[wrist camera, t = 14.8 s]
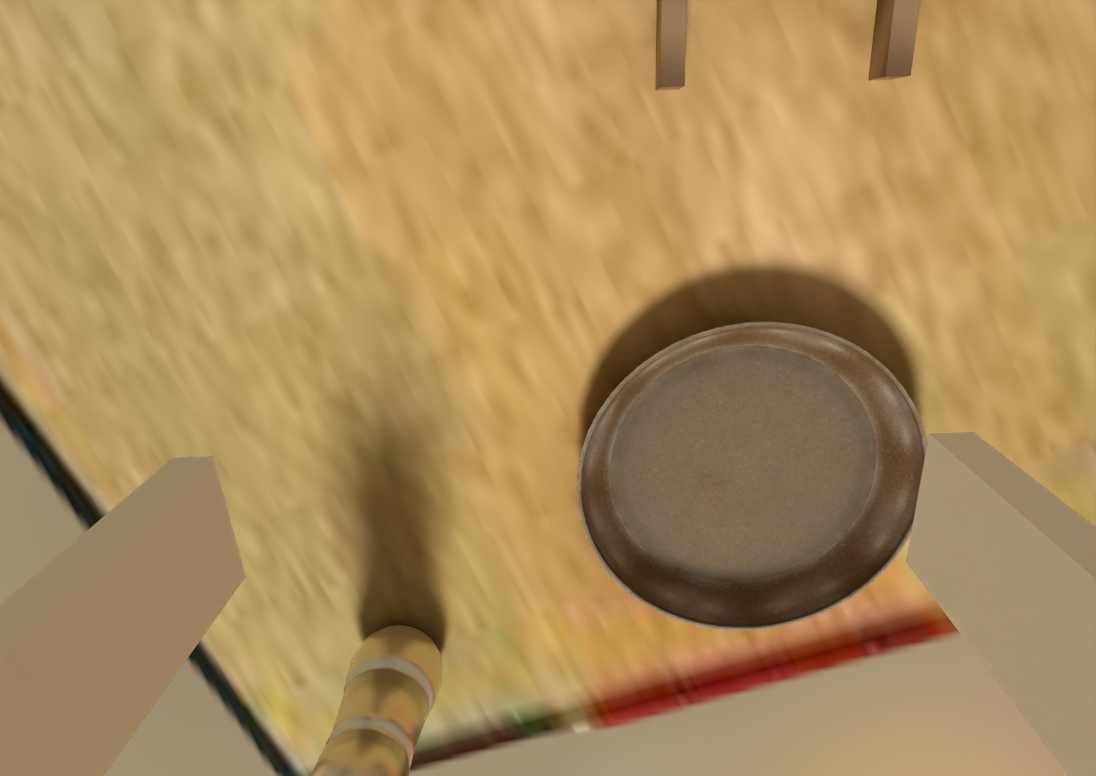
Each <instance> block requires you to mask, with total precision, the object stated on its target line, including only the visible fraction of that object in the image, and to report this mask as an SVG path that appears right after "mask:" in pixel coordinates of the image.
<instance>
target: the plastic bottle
mask: <svg viewBox="0 0 1096 776" xmlns="http://www.w3.org/2000/svg"><path fill="white" fill-rule="evenodd" d="M441 681H442V658H441V655H440V652H439V650H438V649H437V647H436V646H435V644H434V642H433V641H432V640H431V639H430V637H429V636H428V635H426V634H425V633H424V632H422V631H420V630H418V629H416V628H413V627H410V626H404V625H395V626H390V627H386V628H383V629H381V630H379V631H376V632H374V633H373V634H371V635H370V636H368V637H367V639H366V640H365V641H364V642H363V643H362V645H361V646H360V647H359V649H358V650H357V652H356V653H355V655H354V657H353V658H352V660H351V663H350V666H349V670H348V674H347V678H346V682H345V687H344V696H343V699H342V702H341V705H340V708H339V711H338V715H337V718H336V721H335V724H334V727H333V730H332V733H331V735H330V737H329V739H328V741H327V743H326V746H325V748H324V749H323V751H322V753H321V755H320V758H319V760H318V762H317V764H316V766H315V768H314V770H313V772H312V774H311V776H409V769H410V766H411V762H412V757H413V752H414V750H415V747H416V744H417V741H418V739H419V736H420V733H421V730H422V728H423V725H424V722H425V719H426V718H427V716H428V714H429V713H430V711H431V709H432V707H433V705H434V702H435V700H436V698H437V695H438V693H439V690H440V687H441Z"/></svg>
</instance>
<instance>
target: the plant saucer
mask: <svg viewBox="0 0 1096 776" xmlns="http://www.w3.org/2000/svg"><path fill="white" fill-rule="evenodd" d="M926 449H927V441H926V436H925V431H924V428H923V425H922V421H921V419H920V417H919V414H918V412H917V409H916V407H915V405H914V403H913V402H912V400H911V398H910V397H909V395H908V393H907V392H906V390H905V389H904V387H903V386H902V385H901V383H900V382H899V381H898V380H897V378H896V377H895V376H894V375H893V373H892V372H891V371H890V370H888V369H887V368H886V367H885V366H884V365H883V364H882V363H881V362H880V361H879V360H878V359H876V358H875V357H874V356H872V355H871V354H870V353H868V352H867V351H865V350H864V349H862V348H861V347H859V346H857V345H856V344H854V343H852V342H850V341H848V340H846V339H844V338H842V337H839V336H837V335H834V334H832V333H829V332H826V331H823V330H820V329H816V328H812V327H808V326H803V325H799V324H792V323H783V322H747V323H737V324H731V325H726V326H721V327H716V328H713V329H710V330H706V331H703V332H700V333H697V334H694V335H692V336H689V337H687V338H684V339H682V340H680V341H678V342H675V343H673V344H671V345H669V346H668V347H666V348H664V349H662V350H661V351H659V352H657V353H656V354H654V355H653V356H652V357H650V358H649V359H647V360H646V361H644V362H643V363H642V364H641V365H639V366H638V367H637V368H636V369H635V370H633V371H632V372H631V373H630V374H629V375H628V376H627V377H626V378H625V379H624V380H623V381H622V382H621V383H620V384H619V385H618V386H617V387H616V388H615V389H614V390H613V392H612V393H611V394H610V395H609V397H608V398H607V399H606V401H605V402H604V404H603V405H602V406H601V408H600V410H599V411H598V413H597V414H596V416H595V418H594V420H593V422H592V424H591V426H590V428H589V431H588V433H587V436H586V438H585V441H584V444H583V447H582V450H581V454H580V459H579V464H578V471H577V502H578V509H579V514H580V519H581V523H582V526H583V529H584V532H585V534H586V537H587V539H588V541H589V543H590V546H591V548H592V550H593V552H594V553H595V555H596V557H597V558H598V560H599V561H600V563H601V564H602V565H603V567H604V568H605V569H606V571H607V572H608V573H609V574H610V575H611V577H612V578H613V579H614V580H615V581H616V582H617V583H618V584H619V585H620V586H621V587H623V588H624V589H625V590H626V591H627V592H628V593H630V594H631V595H632V596H633V597H635V598H636V599H637V600H639V601H641V602H642V603H644V604H645V605H647V606H649V607H651V608H652V609H654V610H656V611H658V612H660V613H662V614H664V615H667V616H669V617H672V618H674V619H677V620H680V621H682V622H686V623H689V624H693V625H697V626H702V627H707V628H714V629H725V630H756V629H765V628H773V627H778V626H783V625H788V624H792V623H795V622H798V621H802V620H805V619H808V618H811V617H813V616H816V615H818V614H820V613H823V612H825V611H828V610H830V609H832V608H833V607H835V606H837V605H839V604H841V603H843V602H845V601H846V600H848V599H850V598H851V597H852V596H854V595H855V594H857V593H858V592H860V591H861V590H862V589H864V588H865V587H866V586H867V585H869V584H870V583H871V582H872V581H873V580H874V579H875V578H876V577H878V576H879V575H880V574H881V573H882V572H883V571H884V570H885V569H886V568H887V567H888V566H889V564H890V563H891V562H892V561H893V560H894V559H895V557H896V556H897V555H898V553H899V552H900V551H901V549H902V547H903V546H904V544H905V543H906V541H907V540H908V538H909V536H910V535H911V532H912V526H913V521H914V515H915V510H916V504H917V499H918V493H919V487H920V482H921V476H922V471H923V465H924V460H925V454H926Z"/></svg>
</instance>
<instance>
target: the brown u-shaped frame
mask: <svg viewBox="0 0 1096 776" xmlns="http://www.w3.org/2000/svg"><path fill="white" fill-rule="evenodd" d="M920 1H921V0H878V2H877V11H876V20H875V28H874V37H873V46H872V55H871V64H870V72H869V80H887V79H896V78H901V77H905V76H910V75H911V68H912V61H913V53H914V46H915V38H916V31H917V23H918V16H919V8H920ZM686 14H687V0H657V35H656V90H671V89H680V88H682V87H683V86H685V50H686Z"/></svg>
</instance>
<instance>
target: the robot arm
mask: <svg viewBox="0 0 1096 776" xmlns="http://www.w3.org/2000/svg"><path fill="white" fill-rule="evenodd" d="M906 562H907V564H908V565H909V566H910V568H911V569H912V570H913V572H914V573H915V574H916V575H917V577H918V578H919V579H920V581H921V582H922V583H923V585H924V586H925V587H926V589H927V590H928V591H929V593H930V594H931V595H932V597H933V598H934V599H935V601H936V602H937V603H938V604H939V606H940V607H941V608H942V610H943V611H944V612H945V614H946V615H947V616H948V618H949V619H950V620H951V622H952V623H953V624H954V626H955V627H956V628H957V629H958V631H959V632H960V633H961V635H962V636H963V637H964V639H965V640H966V641H967V643H968V644H969V645H970V647H971V648H972V649H973V651H974V652H975V653H976V655H977V656H978V657H979V658H980V660H981V661H982V662H983V664H984V665H985V666H986V668H987V669H988V670H989V672H990V673H991V674H992V675H993V677H994V678H995V679H996V681H997V682H998V683H999V685H1000V686H1001V687H1002V689H1003V690H1004V691H1005V693H1006V694H1007V695H1008V697H1009V698H1010V699H1011V701H1012V702H1013V703H1014V705H1015V706H1016V707H1017V708H1018V710H1019V711H1020V712H1021V714H1022V715H1023V716H1024V718H1025V719H1026V720H1027V722H1028V723H1029V724H1030V726H1031V727H1032V728H1033V730H1034V731H1035V732H1036V733H1037V735H1038V736H1039V737H1040V739H1041V740H1042V741H1043V743H1044V744H1045V745H1046V747H1047V748H1048V749H1049V751H1050V752H1051V753H1052V755H1053V756H1054V757H1055V759H1056V760H1057V761H1058V762H1059V764H1060V765H1061V766H1062V768H1063V769H1064V770H1065V772H1066V773H1067V774H1068V776H1096V527H1095V526H1094V525H1092V524H1091V523H1090V522H1089V521H1087V520H1086V519H1085V518H1083V517H1082V516H1081V515H1079V514H1078V513H1077V512H1076V511H1074V510H1073V509H1072V508H1070V507H1069V506H1068V505H1067V504H1065V503H1064V502H1063V501H1061V500H1060V499H1059V498H1058V497H1056V496H1055V495H1054V494H1052V493H1051V492H1050V491H1049V490H1047V489H1046V488H1045V487H1043V486H1042V485H1041V484H1040V483H1038V482H1037V481H1036V480H1034V479H1033V478H1032V477H1030V476H1029V475H1028V474H1027V473H1025V472H1024V471H1023V470H1021V469H1020V468H1019V467H1018V466H1016V465H1015V464H1014V463H1012V462H1011V461H1010V460H1009V459H1007V458H1006V457H1005V456H1003V455H1002V454H1001V453H1000V452H998V451H997V450H996V449H994V448H993V447H992V446H990V445H989V444H988V443H987V442H985V441H984V440H983V439H981V438H980V437H979V436H978V435H976V434H975V433H974V432H966V433H934V434H929V438H928V443H927V449H926V454H925V460H924V465H923V471H922V476H921V482H920V487H919V493H918V499H917V504H916V510H915V515H914V521H913V526H912V532H911V537H910V543H909V548H908V554H907V559H906ZM244 578H245V573H244V570H243V566H242V562H241V558H240V555H239V551H238V547H237V544H236V540H235V536H234V532H233V529H232V525H231V521H230V518H229V514H228V510H227V507H226V503H225V499H224V495H223V492H222V488H221V484H220V481H219V477H218V473H217V470H216V466H215V462H214V458H213V456H209V457H178V458H172V459H171V460H170V461H169V462H168V463H167V464H165V465H164V466H163V467H162V468H161V469H159V470H158V471H157V472H156V473H155V474H154V475H152V476H151V477H150V478H149V479H148V480H147V481H145V482H144V483H143V484H142V485H141V486H139V487H138V488H137V489H136V490H135V491H134V492H132V493H131V494H130V495H129V496H128V497H127V498H125V499H124V500H123V501H122V502H121V503H119V504H118V505H117V506H116V507H115V508H114V509H112V510H111V511H110V512H109V513H108V514H107V515H105V516H104V517H103V518H102V519H101V520H99V521H98V522H97V523H96V524H95V525H94V526H92V527H91V528H90V529H89V530H88V531H87V532H85V533H84V534H83V535H82V536H81V537H79V538H78V539H77V540H76V541H75V542H74V543H72V544H71V545H70V546H69V547H68V548H67V549H65V550H64V551H63V552H62V553H61V554H59V555H58V556H57V557H56V558H55V559H54V560H53V561H51V562H50V563H49V564H48V565H47V566H45V567H44V568H43V569H42V570H41V571H39V572H38V573H37V574H36V575H35V576H34V577H32V578H31V579H30V580H29V581H28V582H27V583H25V584H24V585H23V586H22V587H21V588H20V589H18V590H17V591H16V592H15V593H14V594H12V595H11V596H10V597H9V598H8V599H7V600H5V601H4V602H3V603H2V604H1V605H0V776H104V775H105V773H106V772H107V770H108V769H109V768H110V766H111V765H112V763H113V762H114V761H115V759H116V758H117V756H118V755H119V754H120V752H121V751H122V749H123V748H124V747H125V745H126V744H127V742H128V741H129V739H130V738H131V737H132V735H133V734H134V732H135V731H136V730H137V728H138V727H139V725H140V724H141V723H142V721H143V720H144V718H145V717H146V716H147V714H148V713H149V711H150V710H151V709H152V707H153V706H154V704H155V703H156V702H157V700H158V699H159V697H160V696H161V695H162V693H163V692H164V690H165V689H166V688H167V686H168V685H169V683H170V682H171V681H172V679H173V678H174V676H175V675H176V673H177V672H178V670H179V669H180V668H181V666H182V665H183V664H184V662H185V661H186V659H187V658H188V657H189V655H190V654H191V652H192V651H193V650H194V648H195V647H196V645H197V644H198V643H199V641H200V640H201V638H202V637H203V636H204V634H205V633H206V631H207V630H208V629H209V627H210V626H211V624H212V623H213V622H214V620H215V619H216V617H217V616H218V615H219V613H220V612H221V610H222V609H223V607H224V606H225V605H226V603H227V602H228V600H229V599H230V598H231V596H232V595H233V593H234V592H235V591H236V589H237V588H238V586H239V585H240V584H241V582H242V581H243V579H244Z"/></svg>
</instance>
